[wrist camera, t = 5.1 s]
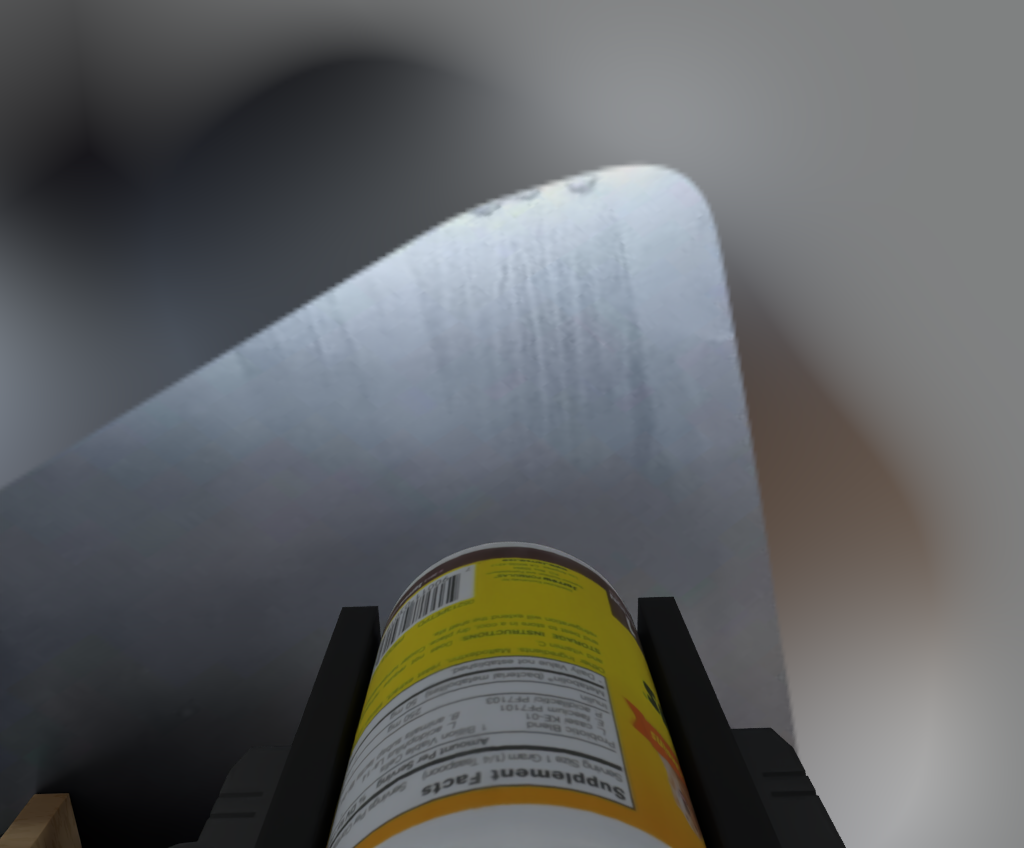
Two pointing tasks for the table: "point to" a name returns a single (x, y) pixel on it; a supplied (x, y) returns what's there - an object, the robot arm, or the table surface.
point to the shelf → (44, 824)
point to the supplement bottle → (512, 716)
